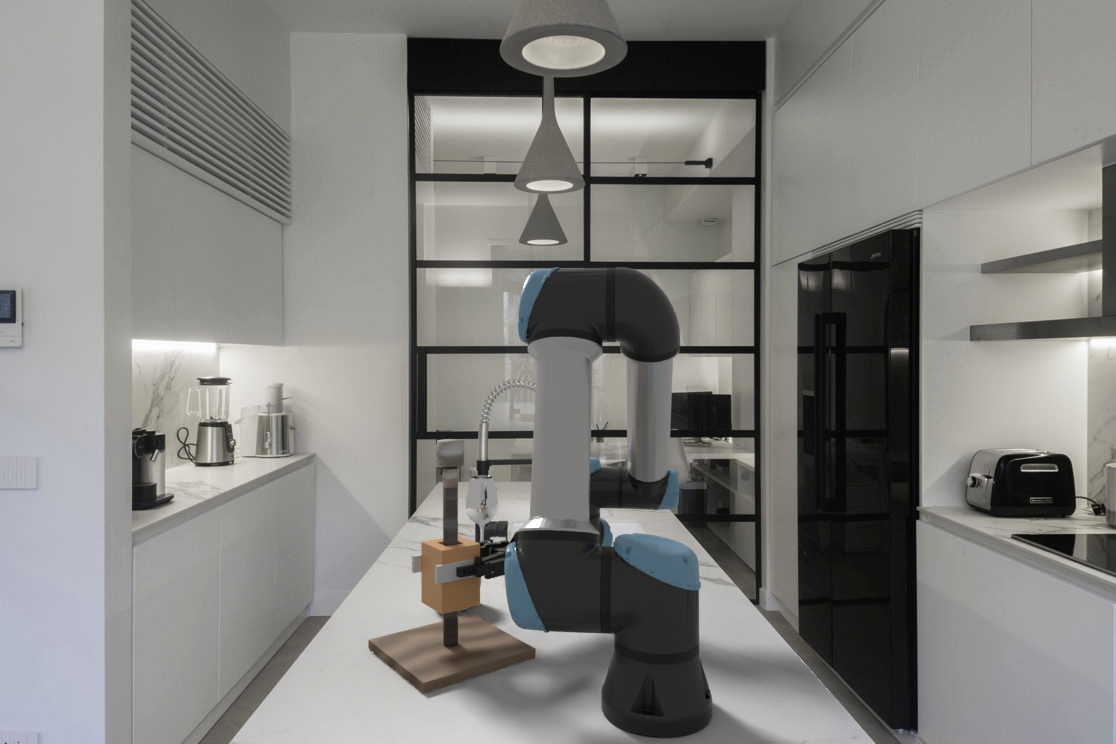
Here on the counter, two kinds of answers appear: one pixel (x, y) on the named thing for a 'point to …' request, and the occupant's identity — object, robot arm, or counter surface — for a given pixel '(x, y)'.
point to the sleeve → (452, 592)
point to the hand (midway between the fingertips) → (424, 569)
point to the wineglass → (481, 501)
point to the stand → (450, 618)
